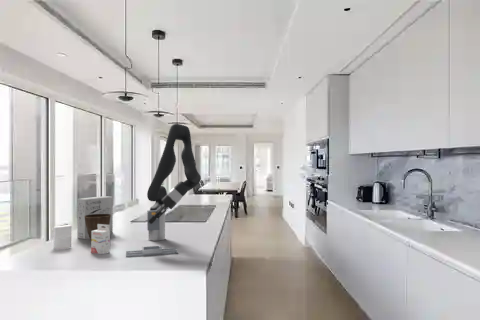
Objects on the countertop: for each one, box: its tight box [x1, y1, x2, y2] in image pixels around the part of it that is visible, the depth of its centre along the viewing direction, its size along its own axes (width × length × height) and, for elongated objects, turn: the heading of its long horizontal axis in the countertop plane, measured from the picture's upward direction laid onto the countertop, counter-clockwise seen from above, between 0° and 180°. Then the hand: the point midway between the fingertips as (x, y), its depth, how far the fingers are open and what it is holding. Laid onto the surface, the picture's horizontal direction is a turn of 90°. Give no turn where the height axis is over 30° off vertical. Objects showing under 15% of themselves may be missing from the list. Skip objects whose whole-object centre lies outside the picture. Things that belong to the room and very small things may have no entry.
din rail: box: [125, 245, 178, 258], centre depth 186 cm, size 26×9×3 cm, turn 107°
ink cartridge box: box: [90, 224, 111, 255], centre depth 187 cm, size 9×5×15 cm, turn 71°
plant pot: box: [84, 214, 111, 241], centre depth 213 cm, size 15×15×16 cm
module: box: [146, 209, 160, 232], centre depth 187 cm, size 6×5×10 cm
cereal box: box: [76, 195, 114, 240], centre depth 231 cm, size 22×8×25 cm, turn 150°
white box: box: [53, 224, 73, 250], centre depth 198 cm, size 9×9×12 cm
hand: (149, 222), depth 187 cm, fingers closed on module, 4 cm apart
